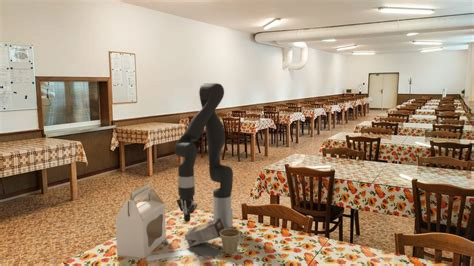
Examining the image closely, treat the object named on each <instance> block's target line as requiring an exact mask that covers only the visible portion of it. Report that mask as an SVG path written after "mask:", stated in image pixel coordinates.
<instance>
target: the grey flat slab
mask: <svg viewBox="0 0 474 266" xmlns="http://www.w3.org/2000/svg"><path fill="white" fill-rule="evenodd" d="M186 250H187V251H189V252H192V253H194V254H196V255H199V256H200V257H203V258H205V259H207V260H209V259H211V258H213V257H216V256H218V255H220V254H222V253H224V251H223V250H221V249H218V248H216V247H214V246H212V245H209V244H206V243H205V242H203V243H200V244H197V245H194V246H191V247H189V246H188V247H186Z"/></svg>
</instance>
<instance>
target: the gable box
mask: <svg viewBox="0 0 474 266" xmlns="http://www.w3.org/2000/svg"><path fill="white" fill-rule="evenodd" d="M140 199H141V200H140ZM139 200H140V201H139ZM136 201H139V202H138V203H136ZM166 230H167V229H166V204H165V203H164V201H163V200H162V199H161V198H160V197H159V195H158V193H157V192H156V191H155V190H154V188H153V185H150V183H147V184H144V185H143V186H140V187H139V188H137V189H134V191H132V192H130V199H127V200H125V203H123V205H122V207H121V209H120V210H119V211H118V213H117V214H116V216H115V236H116V237H115V240H116V255H117V256H121V257H128V258H136V259H146V257H148V256H149V255H150V254H151V253H152V252H153V251H154V250H155V249H156V248H157V247H158V246H159V245H160V244H162V242H164V240H166V238H167V236H166V235H167V231H166Z"/></svg>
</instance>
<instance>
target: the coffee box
mask: <svg viewBox="0 0 474 266" xmlns="http://www.w3.org/2000/svg"><path fill="white" fill-rule="evenodd" d="M221 230H224V226H223V224H222V222H221V220H220V218H219V219H216V220H214V219H213V220H211V221H207V222H204V223H201V224H199V225H196V226H193V227H191V228H189V230H188V231H186V233H185V234H184V237H185V240H186V242H187V244H188V248H189V247H191V246H194V245H197V244H200V243H206V242H209V241H211V240H212V241H213V240H216V239H218V238H221V236H220V234H219V233H220V231H221Z"/></svg>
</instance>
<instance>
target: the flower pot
mask: <svg viewBox="0 0 474 266" xmlns="http://www.w3.org/2000/svg"><path fill="white" fill-rule="evenodd" d="M219 234H220V238H221V244H222V248H223V250H222V251H223V253H225V254H230V255H231V254H235V253H236V252H237V251H238V247H239V238H240V236H241V231H240V230H239V229H236V228H231V229H224V230H221V231H220V233H219Z"/></svg>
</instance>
